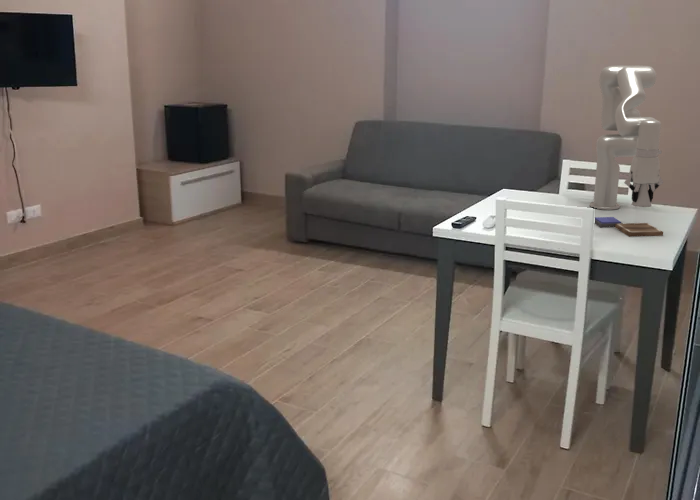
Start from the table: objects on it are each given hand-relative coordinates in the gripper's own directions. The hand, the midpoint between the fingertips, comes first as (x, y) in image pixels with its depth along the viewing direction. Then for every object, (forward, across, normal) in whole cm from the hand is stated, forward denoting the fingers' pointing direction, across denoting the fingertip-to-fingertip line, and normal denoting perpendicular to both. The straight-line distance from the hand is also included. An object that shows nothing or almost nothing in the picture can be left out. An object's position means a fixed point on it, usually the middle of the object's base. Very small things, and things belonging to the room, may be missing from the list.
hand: (641, 201), depth 271 cm
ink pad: (+12, +8, -12) cm, 18 cm away
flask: (+2, 0, 0) cm, 2 cm away
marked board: (+12, 0, 0) cm, 12 cm away
